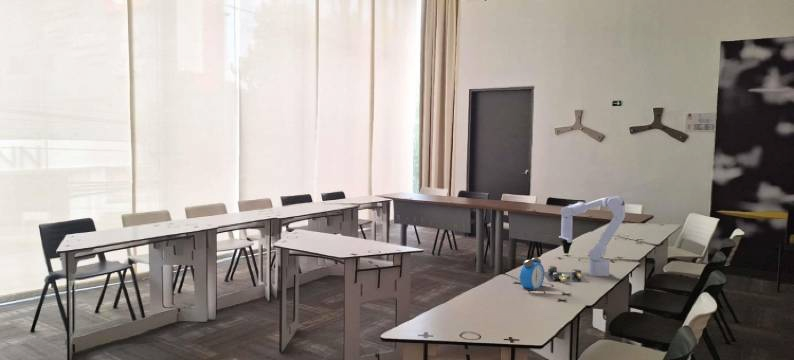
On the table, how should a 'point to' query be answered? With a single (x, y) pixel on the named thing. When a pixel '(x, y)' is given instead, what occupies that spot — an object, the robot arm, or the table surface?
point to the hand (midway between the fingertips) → (566, 253)
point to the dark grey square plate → (567, 275)
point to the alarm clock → (532, 273)
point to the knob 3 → (576, 273)
